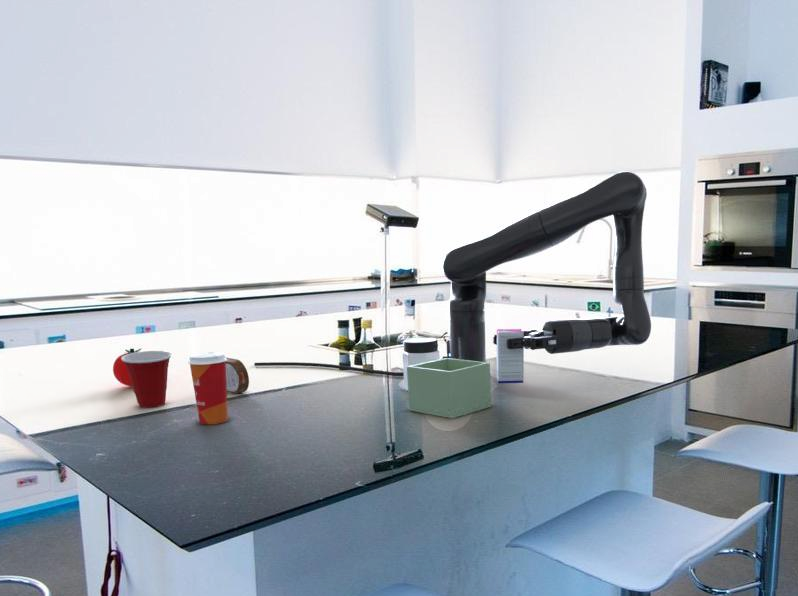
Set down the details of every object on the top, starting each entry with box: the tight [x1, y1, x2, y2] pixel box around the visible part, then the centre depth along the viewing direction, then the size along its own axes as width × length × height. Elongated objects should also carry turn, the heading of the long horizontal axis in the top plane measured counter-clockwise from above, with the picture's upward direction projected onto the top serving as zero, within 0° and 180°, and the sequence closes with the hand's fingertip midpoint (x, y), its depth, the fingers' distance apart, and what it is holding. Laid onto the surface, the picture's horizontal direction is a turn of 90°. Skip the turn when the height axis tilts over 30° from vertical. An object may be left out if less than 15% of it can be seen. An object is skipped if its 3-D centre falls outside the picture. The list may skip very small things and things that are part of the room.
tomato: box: [112, 347, 143, 387], centre depth 199 cm, size 10×10×10 cm
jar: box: [402, 337, 441, 392], centre depth 180 cm, size 9×8×12 cm
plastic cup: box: [121, 350, 172, 408], centre depth 174 cm, size 11×11×12 cm
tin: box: [225, 356, 250, 395], centre depth 187 cm, size 15×3×8 cm, turn 47°
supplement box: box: [496, 328, 525, 385], centre depth 168 cm, size 6×6×12 cm
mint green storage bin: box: [407, 358, 492, 419], centre depth 160 cm, size 12×12×10 cm
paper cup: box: [187, 351, 229, 425], centre depth 156 cm, size 8×8×14 cm
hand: (500, 341), depth 166 cm, fingers closed on supplement box, 7 cm apart
